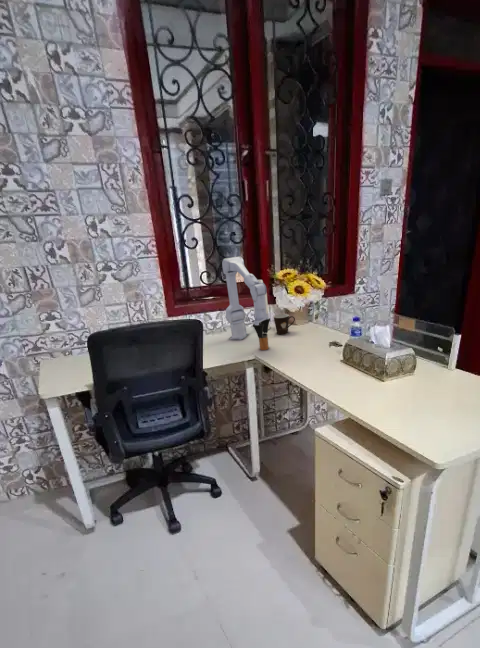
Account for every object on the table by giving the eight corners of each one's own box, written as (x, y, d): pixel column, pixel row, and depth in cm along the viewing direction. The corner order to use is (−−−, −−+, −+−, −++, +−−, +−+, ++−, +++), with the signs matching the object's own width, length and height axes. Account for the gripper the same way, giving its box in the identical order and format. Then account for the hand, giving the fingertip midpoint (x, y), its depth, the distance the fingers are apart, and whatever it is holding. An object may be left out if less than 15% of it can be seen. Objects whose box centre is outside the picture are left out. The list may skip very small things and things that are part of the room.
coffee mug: (274, 335, 235) (272, 318, 231) (276, 331, 243) (274, 314, 238) (294, 334, 234) (293, 317, 229) (295, 330, 241) (294, 313, 236)
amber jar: (261, 347, 220) (260, 333, 216) (269, 347, 218) (268, 333, 215) (258, 350, 216) (257, 335, 212) (267, 350, 214) (265, 336, 211)
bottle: (270, 326, 253) (266, 278, 239) (268, 330, 246) (264, 281, 232) (257, 326, 254) (253, 279, 241) (255, 330, 247) (250, 282, 234)
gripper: (262, 312, 200) (265, 339, 206) (272, 305, 212) (274, 331, 218) (249, 312, 202) (252, 339, 208) (259, 305, 214) (262, 330, 220)
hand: (262, 335), depth 213 cm, fingers open, 7 cm apart
